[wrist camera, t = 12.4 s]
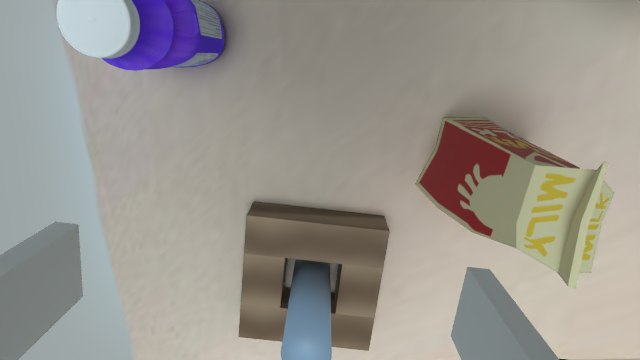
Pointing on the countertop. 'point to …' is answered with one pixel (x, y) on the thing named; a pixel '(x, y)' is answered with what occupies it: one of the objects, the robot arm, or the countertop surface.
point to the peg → (308, 313)
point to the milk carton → (518, 194)
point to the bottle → (143, 32)
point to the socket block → (314, 245)
